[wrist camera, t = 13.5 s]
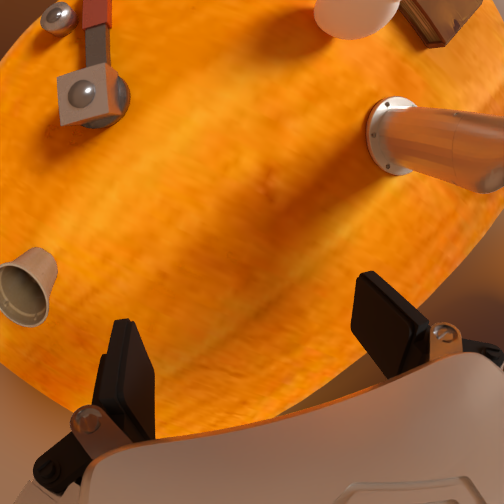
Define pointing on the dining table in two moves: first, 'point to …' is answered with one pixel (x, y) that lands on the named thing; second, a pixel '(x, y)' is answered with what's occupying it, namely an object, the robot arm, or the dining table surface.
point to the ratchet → (101, 50)
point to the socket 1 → (59, 19)
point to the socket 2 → (88, 95)
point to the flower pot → (27, 287)
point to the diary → (437, 18)
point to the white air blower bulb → (353, 16)
